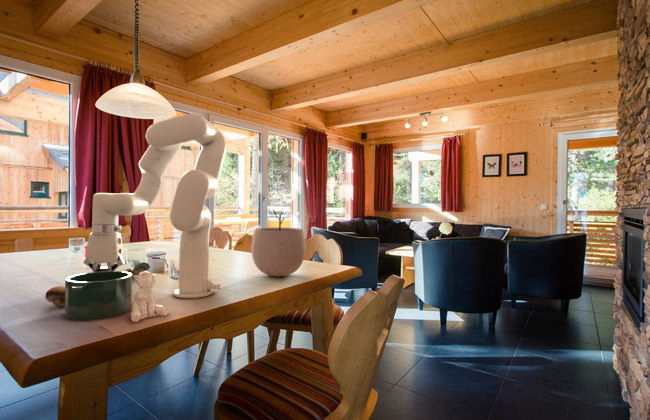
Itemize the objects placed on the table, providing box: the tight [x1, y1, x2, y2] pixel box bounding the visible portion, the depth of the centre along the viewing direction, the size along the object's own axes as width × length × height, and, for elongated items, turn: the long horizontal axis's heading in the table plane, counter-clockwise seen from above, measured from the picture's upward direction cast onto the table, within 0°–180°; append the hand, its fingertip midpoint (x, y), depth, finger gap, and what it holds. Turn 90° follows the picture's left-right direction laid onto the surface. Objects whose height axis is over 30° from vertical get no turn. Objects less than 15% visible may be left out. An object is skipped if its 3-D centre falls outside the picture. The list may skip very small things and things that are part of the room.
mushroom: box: [45, 285, 65, 308], centre depth 103 cm, size 8×8×6 cm
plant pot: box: [251, 208, 307, 278], centre depth 155 cm, size 24×24×30 cm
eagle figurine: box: [123, 262, 151, 281], centre depth 141 cm, size 8×7×9 cm
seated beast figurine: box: [130, 271, 169, 323], centre depth 96 cm, size 10×9×12 cm
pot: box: [64, 270, 133, 321], centre depth 99 cm, size 16×21×10 cm
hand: (103, 282), depth 119 cm, fingers closed on lid, 2 cm apart
